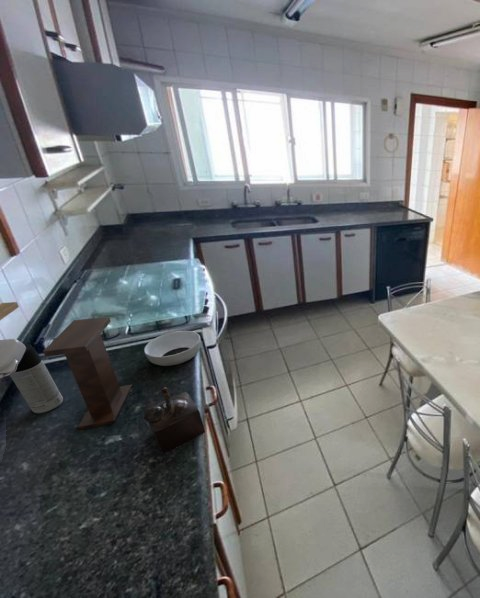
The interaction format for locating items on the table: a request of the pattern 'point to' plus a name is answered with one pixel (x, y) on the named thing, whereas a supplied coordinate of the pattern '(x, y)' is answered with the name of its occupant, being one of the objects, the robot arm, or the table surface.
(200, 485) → the table surface
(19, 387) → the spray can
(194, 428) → the dark brown boxy piece
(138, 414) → the table surface
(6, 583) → the table surface
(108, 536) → the table surface
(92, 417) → the walnut stand
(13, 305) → the wooden plank
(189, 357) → the cereal bowl
